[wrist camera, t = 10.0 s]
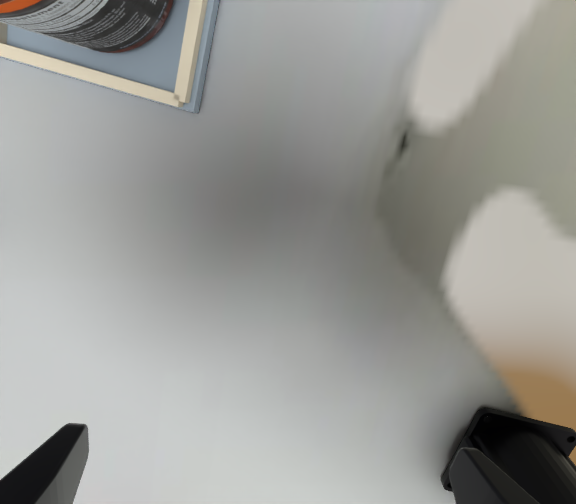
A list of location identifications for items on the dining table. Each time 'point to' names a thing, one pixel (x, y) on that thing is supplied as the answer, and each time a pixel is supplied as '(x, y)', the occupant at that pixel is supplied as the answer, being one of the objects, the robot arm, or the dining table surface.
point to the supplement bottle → (90, 21)
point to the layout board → (132, 57)
